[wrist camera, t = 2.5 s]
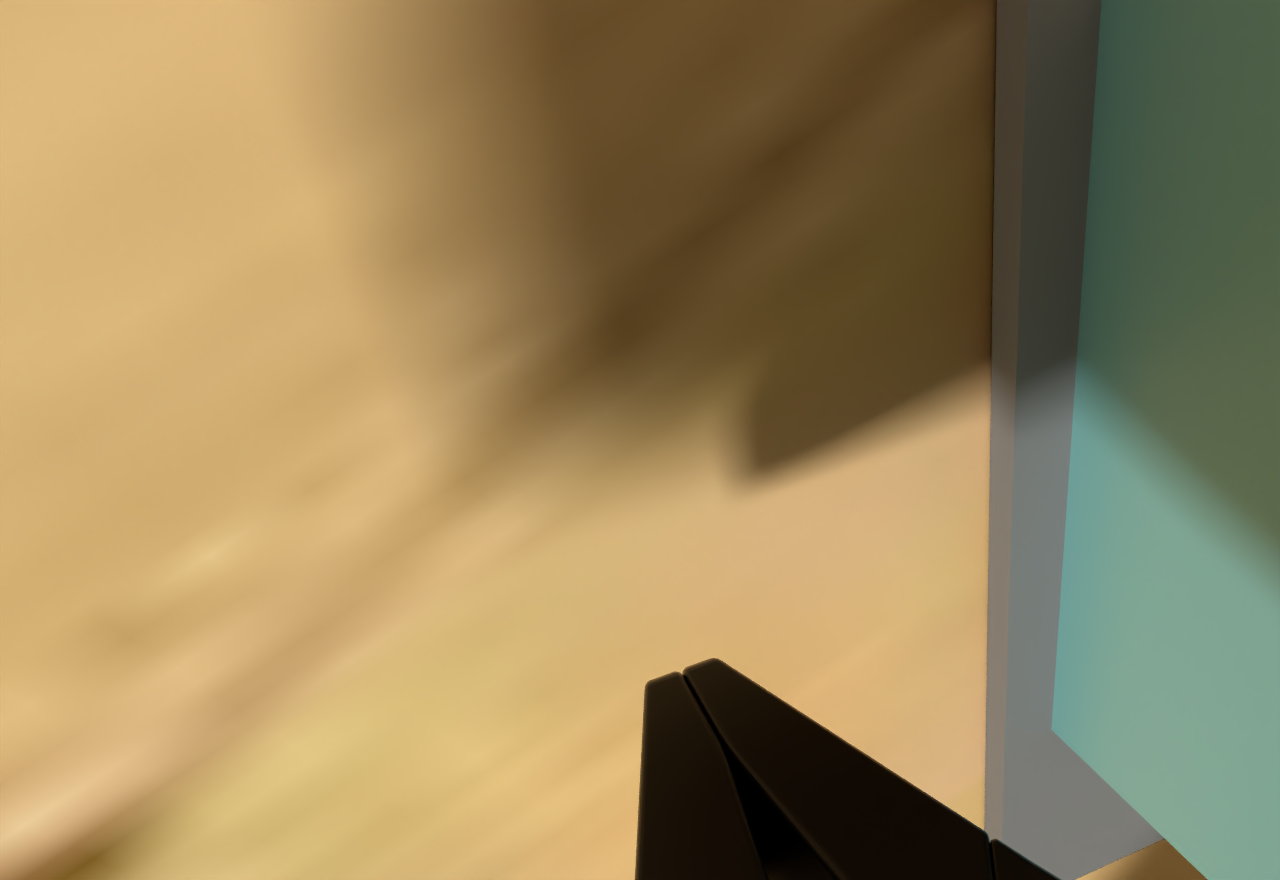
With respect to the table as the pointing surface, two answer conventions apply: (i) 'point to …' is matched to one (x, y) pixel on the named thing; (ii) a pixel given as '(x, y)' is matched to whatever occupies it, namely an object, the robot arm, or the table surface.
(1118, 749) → the t block
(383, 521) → the table surface
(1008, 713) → the mat
